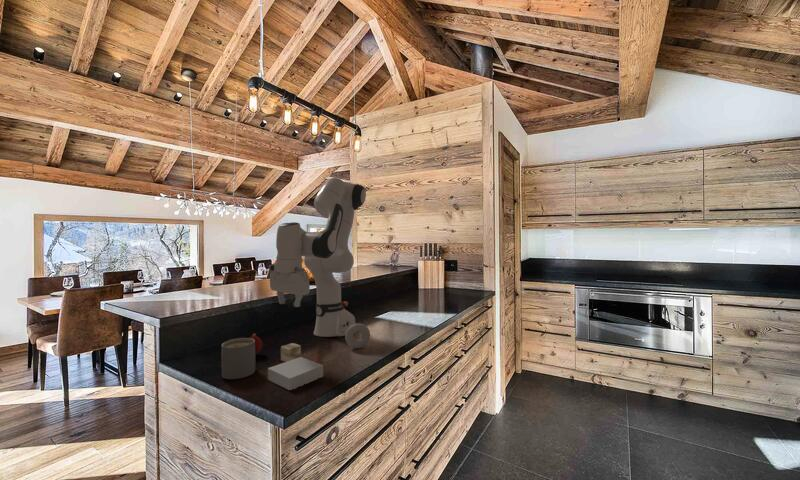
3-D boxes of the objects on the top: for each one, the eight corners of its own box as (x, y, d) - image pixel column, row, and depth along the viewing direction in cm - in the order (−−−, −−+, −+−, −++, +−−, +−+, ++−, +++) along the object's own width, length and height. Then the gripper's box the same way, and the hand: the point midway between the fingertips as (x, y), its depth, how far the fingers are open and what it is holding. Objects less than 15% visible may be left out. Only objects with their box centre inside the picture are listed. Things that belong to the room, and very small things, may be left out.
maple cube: (293, 356, 122) (292, 342, 122) (300, 359, 118) (300, 345, 118) (280, 360, 118) (280, 346, 118) (288, 363, 115) (288, 349, 114)
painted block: (300, 368, 111) (300, 356, 111) (323, 377, 103) (323, 365, 103) (267, 381, 102) (267, 368, 101) (289, 392, 94) (289, 378, 94)
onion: (256, 358, 119) (255, 336, 119) (242, 357, 120) (241, 336, 120) (265, 353, 125) (265, 332, 125) (252, 352, 126) (252, 331, 126)
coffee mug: (252, 377, 103) (252, 345, 103) (217, 381, 101) (217, 348, 101) (259, 361, 116) (259, 333, 116) (228, 364, 114) (228, 336, 114)
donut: (345, 350, 126) (345, 325, 126) (344, 347, 130) (344, 323, 130) (370, 348, 129) (370, 323, 129) (369, 345, 132) (369, 321, 132)
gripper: (314, 267, 114) (314, 307, 114) (281, 265, 127) (281, 300, 127) (298, 269, 109) (298, 310, 109) (266, 266, 122) (266, 303, 122)
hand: (289, 305), depth 118 cm, fingers open, 8 cm apart
